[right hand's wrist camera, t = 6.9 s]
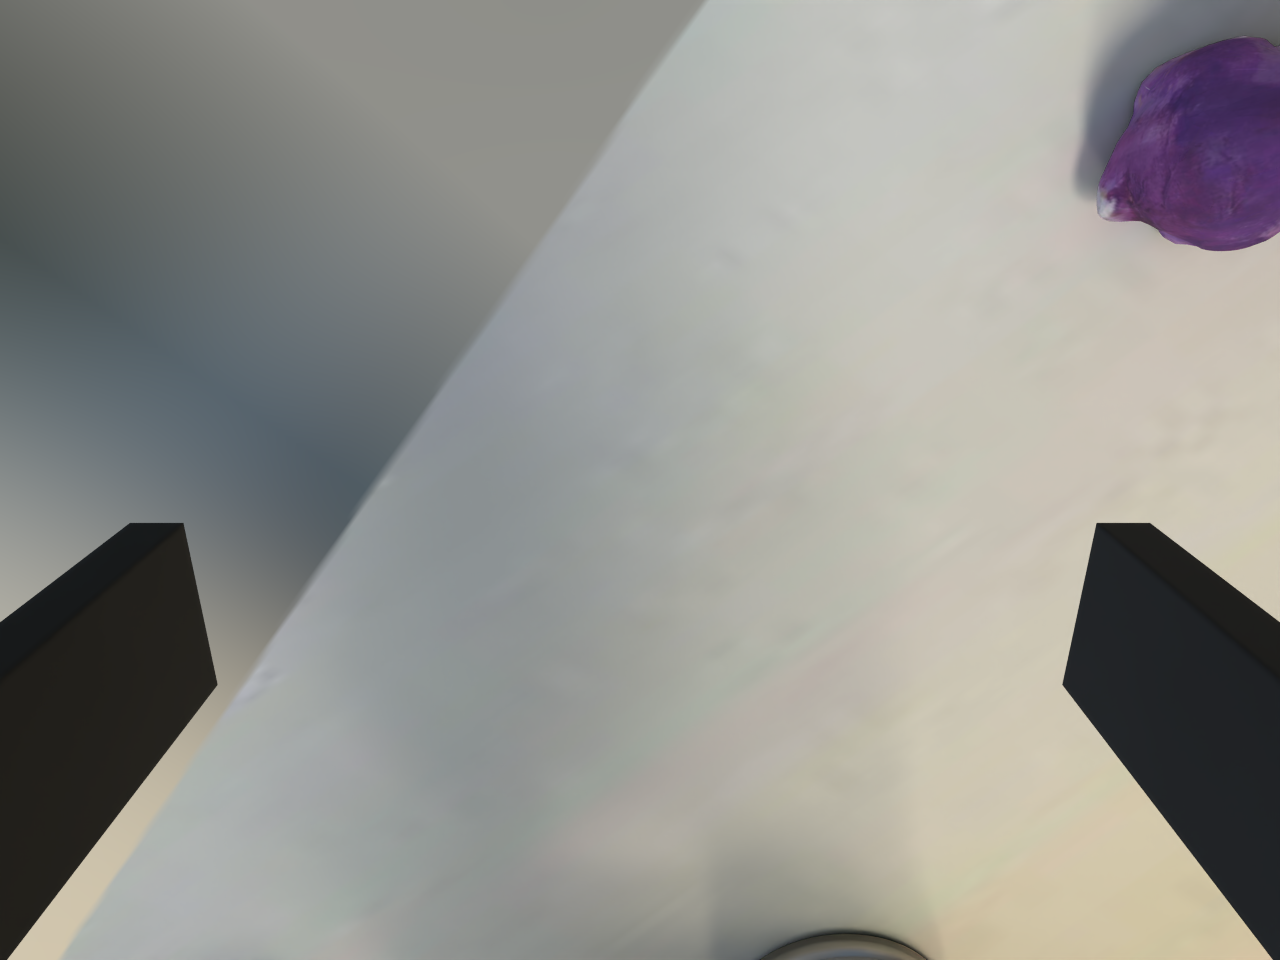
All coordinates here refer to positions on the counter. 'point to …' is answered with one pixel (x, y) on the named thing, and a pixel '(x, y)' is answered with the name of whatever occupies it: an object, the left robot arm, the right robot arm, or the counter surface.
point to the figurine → (1203, 149)
